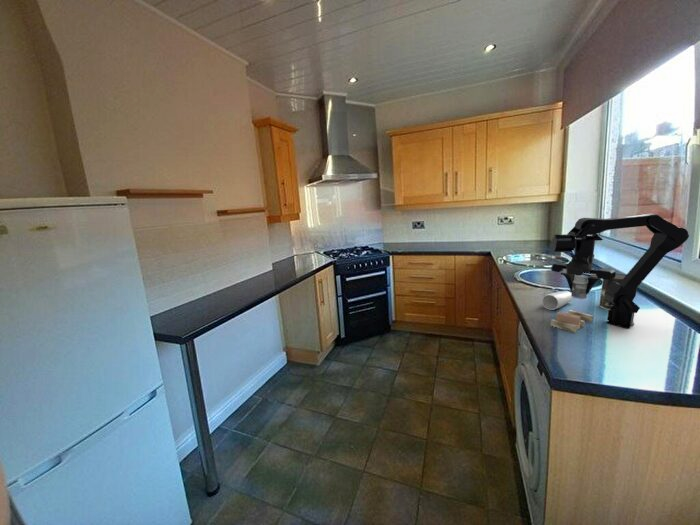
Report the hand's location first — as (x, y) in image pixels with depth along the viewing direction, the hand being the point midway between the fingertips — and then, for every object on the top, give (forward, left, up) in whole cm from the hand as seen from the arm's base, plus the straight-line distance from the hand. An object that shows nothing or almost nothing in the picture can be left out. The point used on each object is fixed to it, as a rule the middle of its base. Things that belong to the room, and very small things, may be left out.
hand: (579, 292), depth 116 cm
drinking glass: (+11, -20, -9) cm, 25 cm away
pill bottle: (0, 0, -2) cm, 2 cm away
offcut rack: (0, +4, -12) cm, 12 cm away
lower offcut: (0, +8, -12) cm, 15 cm away
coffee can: (-4, -27, -12) cm, 30 cm away
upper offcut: (0, +8, -10) cm, 12 cm away
